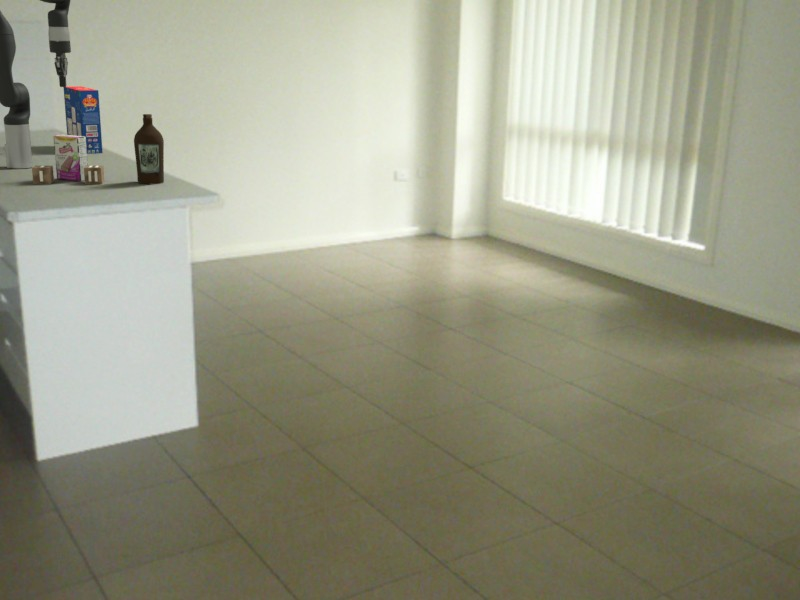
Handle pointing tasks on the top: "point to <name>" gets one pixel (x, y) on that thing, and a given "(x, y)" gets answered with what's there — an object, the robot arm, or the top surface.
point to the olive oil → (149, 153)
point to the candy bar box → (70, 157)
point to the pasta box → (84, 116)
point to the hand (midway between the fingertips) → (63, 86)
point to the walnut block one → (42, 174)
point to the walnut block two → (94, 174)
